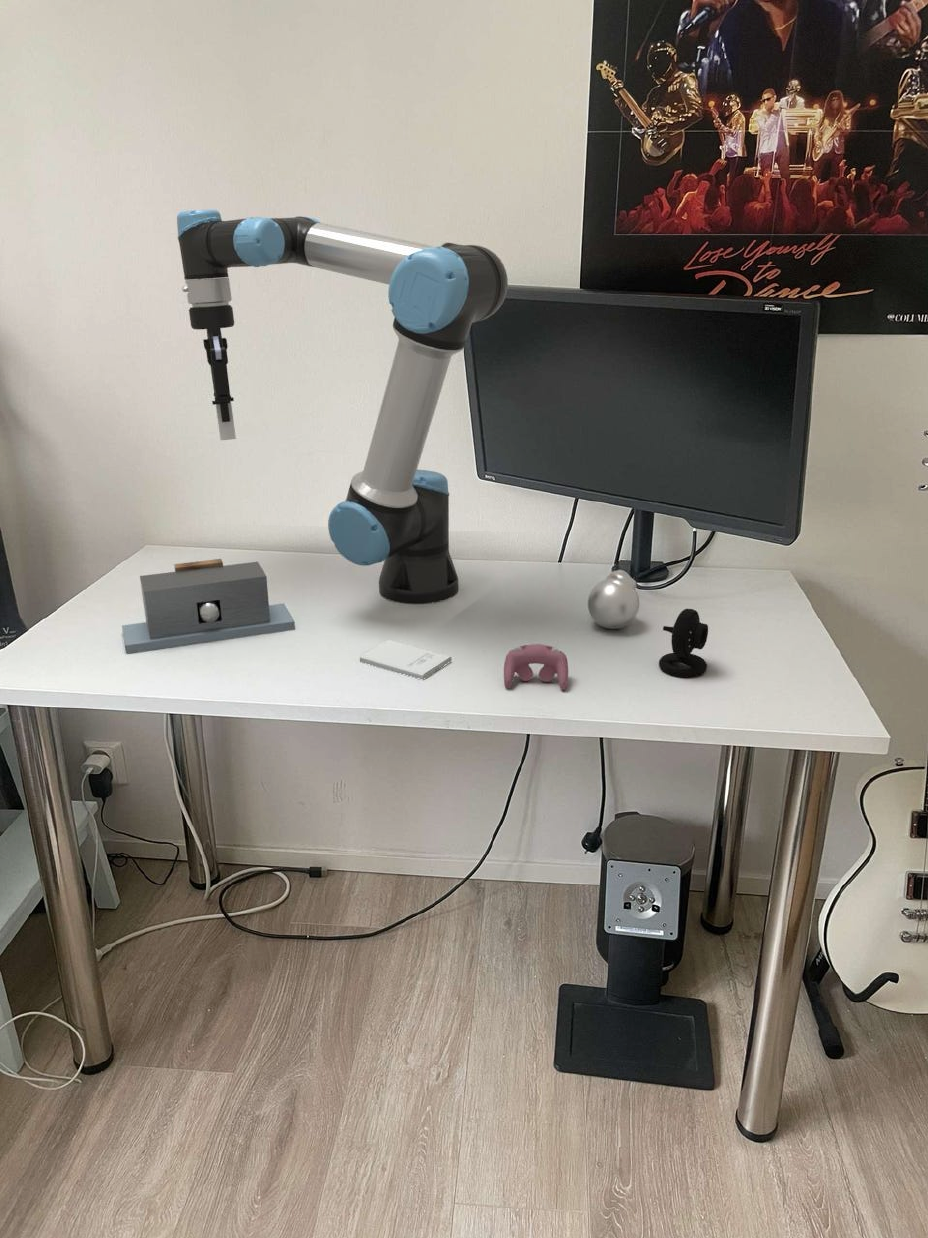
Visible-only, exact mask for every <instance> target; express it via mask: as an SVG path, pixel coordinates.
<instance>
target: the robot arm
mask: <svg viewBox="0 0 928 1238" xmlns="http://www.w3.org/2000/svg"><path fill="white" fill-rule="evenodd" d="M176 225H177V226H176V227H177V241H178V244H179V250H180V257H181V263H182V269H183V275H184V280H185V285H183V286H182V287H181V288H182V292H183V293H187V294H186V297H187V303H188V304H189V305H191V306H192V307H189V309H188V315H189V320H190V326H191V328H192V329H193V330H197V331H198V330H206V338H203V339H202V341H203V347H204V349H205V351H206V358H207V360H206V361H207V363H208V365H209V366H210V367H209V368H210V374H211V379H212V387H213V396H214V400H212V401H211V402H212V403H211V404H212V405H215V409H216V417H217V425H218V430H219V431H218V432H219V439H220V441H229V440H236V439H237V437H236V431H235V430H236V428H235V421H234V415H233V414H234V413H233V406H232V405H233V404H232V402H234V400H235V399H234V397H232V394H231V390H230V383H229V372H228V366H227V365H228V364H229V359H228V358H229V357H228V351H227V349H228V339H227V338H226V337H222V330H221V329H226V328H231V327H234V325H235V317H234V311H233V306H232V305H231V304H230V302H231V301H232V300H233V299H232V298H233V297H232V292H231V291H232V290H231V285H230V284H231V283H230V277H229V270H228V269H229V268H247V267H253V268H260V267H267V266H271V265H282V264H298V265H301V266H307V267H312V268H317V269H321V270H325V271H329V272H334V273H336V274H337V273H338V274H343V275H347V276H351V277H356V278H359V279H362V280H363V279H364V280H368V281H372V282H377V283H381V284H385V285H388V291H387V292H388V293H387V294H388V295H387V296H388V304H390V305H391V307H392V308H391V312H392V315H393V317H394V318H393V323H392V330H393V331H394V333H395V334H396V336H397V338H398V342H397V346H396V349H395V353H394V357H393V360H392V364H391V368H390V371H389V375H388V379H387V383H386V386H385V389H384V393H383V397H382V402H381V405H380V408H379V411H378V416H377V418H376V423H375V427H374V430H373V433H372V438H371V441H370V445H369V448H368V452H367V456H366V460H365V463H364V467H363V470H361V471H360V472H357V473H355V474H354V475H353V476H352V477H351V481H350V485H349V488H348V491H347V494H346V495H347V496H346V499H345V500H344V501H342V502H339V503H337V504H336V505H335V506H334V507H333V509H332V510H331V511H330V514H329V516H328V519H327V520H328V523H327V528H328V533H329V537H330V540H331V541H332V542H333V544H334V547H335V548H336V550H337V552H338V553H339V554H340V555H341V556H342V557H343V558H344V559H346V560H347V561H348V562H350V563H352V564H355V565H358V566H370V565H371V566H372V565H374V564H378V563H382V562H383V565H382V567H381V568H382V569H381V572H380V574H379V578H378V592H379V595H381V596H382V597H383V598H385V599H386V600H389V601H392V602H394V603H400V604H409V605H410V604H411V605H426V604H432V603H433V604H435V603H438V602H439V603H440V602H443V601H447V600H449V599H450V598H453V597H454V596H455V595H457V594H458V591H459V576H458V574H457V571H456V567H455V565H454V562H453V560H452V555H451V553H450V547H449V546H450V542H449V541H450V538H449V537H450V533H449V531H450V530H449V528H450V522H449V519H450V518H449V517H450V515H449V512H450V509H449V508H450V507H449V504H450V502H449V499H450V492H449V483H448V482H449V481H448V479H447V477H446V476H445V475H444V474H442V473H441V472H437V471H434V470H433V471H432V470H427V469H418V467H419V464H420V461H421V458H422V454H423V452H424V447H425V444H426V441H427V437H428V435H429V432H430V427H431V425H432V421H433V417H434V414H435V412H436V408H437V405H438V402H439V398H440V395H441V393H442V392H441V391H442V389H443V385H444V382H445V379H446V375H447V372H448V370H449V369H448V368H449V364H450V362H451V360H452V359H451V358H452V356H453V355H456V354H457V353H460V352H462V351H463V350H464V349H465V347H466V346H465V345H466V343H467V339H468V336H469V333H470V330H471V326H472V324H473V323H478V322H480V321H484V320H486V319H488V318H489V317H491V316H493V315H494V314H495V313H496V312H497V311H498V310H499V309H500V308H501V306H502V305H503V304H504V301H505V299H506V295H507V293H508V286H509V282H508V281H509V279H508V275H507V270H506V267H505V265H504V263H503V262H502V260H501V258H499V257H498V255H497V254H496V253H495V252H493V251H492V250H490V249H489V248H487V247H484V246H481V245H476V244H467V245H466V244H458V243H452V242H443V243H441V244H440V245H439V246H434V245H430V244H425V243H420V242H415V241H410V240H405V239H400V238H395V237H391V236H386V235H382V234H381V235H380V234H376V233H371V232H367V231H364V230H363V231H362V230H357V229H353V228H348V227H342V226H338V225H333V224H328V223H324V222H320V220H318V219H316V218H314V217H307V216H302V215H301V216H300V215H299V216H295V217H276V218H275V217H272V218H271V217H270V218H269V217H263V216H262V217H260V216H256V217H254V216H251V217H245V218H239V219H231V220H222V215H221V213H220V211H219V210H217V209H194V210H192V209H191V210H183V211H180V212H179V213H178V214H177V216H176Z"/></svg>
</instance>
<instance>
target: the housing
mask: <svg viewBox="0 0 928 1238" xmlns="http://www.w3.org/2000/svg"><path fill="white" fill-rule="evenodd" d="M267 579H268V578H267V575H266V573H265V572H264V570H263V568H262V567H261V564H260V563H259V561H251V562H243V563H234V564H228V565H227V564H226V565H223V566H217V567H209V568H201V569H193V570H185V571H177V572H175V571H171V572H169V571H168V572H160V573H154V574H146V575H145V574H144V575H139V580H140V587H141V596H142V602H143V603H142V604H143V610H144V616H145V622H139V623H131V624H122V625H121V628H122V635H123V640H124V647H125V652H126V655H127V654H135V653H140V652H142V653H143V652H148V651H154V650H162V649H169V648H176V647H177V648H178V647H183V646H188V645H189V646H190V645H198V644H204V643H210V642H217V641H223V640H224V641H225V640H229V639H232V640H233V639H237V638H238V639H239V638H243V637H244V638H245V637H252V636H257V635H264V634H265V633H266V634H273V633H278V632H279V631H280V632H285V631H292V630H296V622H295V620H294V617H293V616H292V615H291V613H290V611H289V610H288V608H287V606H286V604H285V603H284V602H283V603H276V604H270V603H269V591H268V580H267ZM214 600H215V603H216V605H217V608H218V610H219V617H218V619H217V620H215V621H214V622H206V621H204V620H203V619H202V617H201V614H200V612H199V609H198V607H197V603H199V602H206V601H214Z"/></svg>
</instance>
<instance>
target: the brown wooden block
mask: <svg viewBox="0 0 928 1238" xmlns="http://www.w3.org/2000/svg"><path fill="white" fill-rule="evenodd" d="M173 565H174V572H177V571H185V570H193V569H201V568H209V567H217V566H224V563H223V560H222V558H217V559H215V558H214V559H207V560H200V561H190V562H189V561H188V562H182V563H174V564H173ZM197 607H198V609H199V612H200V614H201V617H202V619H203V620H204V621H206V622H214V621H215V620H217V619H218V617H219V610H218V608H217V605H216V603H215V600H214V601H206V602H199V603H197Z"/></svg>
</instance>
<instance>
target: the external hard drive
mask: <svg viewBox="0 0 928 1238" xmlns="http://www.w3.org/2000/svg"><path fill="white" fill-rule="evenodd" d="M452 659H453V657H452V656H449V655H446V654H443V653H438V652H435V651H431V650H428V649H424V648H420V647H417V646H413V645H409V644H405V643H403V642H399V641H394V640H392V639H387V640H386V641H384V642H382V643H380V644H379V645H377V646H375V647H373V648H371V649H370V650H368V651H367V652H365V653H363V654H361V655H360V656H359V663H361V662H362V663H361V664H365V663H366V665H368V664H370V665H369V666H372V665H373V666H372V667H375V666H376V668H379V667H380V668H379V669H382V668H383V670H386V669H387V671H389V670H391V671H390V672H393V671H394V672H393V673H396V672H397V673H396V674H399V673H401V674H400V675H403V674H405V675H404V676H406V675H408V676H407V677H410V676H412V677H411V678H413V677H415V678H414V679H417V678H420V679H424V678H425V679H427V678H428V676H429V677H430V676H432V675H433V674H434V672H435V673H436V672H437V671H438V670H440V669H439V668H441V667H442V668H444V667H445V666H446V665H445V664H447V663H448V662H450V661H451V660H452ZM450 663H451V662H450ZM444 665H445V666H444ZM447 665H448V664H447ZM443 666H444V667H443ZM442 668H441V669H442ZM437 669H438V670H437ZM436 670H437V671H436ZM432 673H433V674H432ZM431 674H432V675H431ZM420 679H419V680H420ZM425 679H424V680H425Z"/></svg>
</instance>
